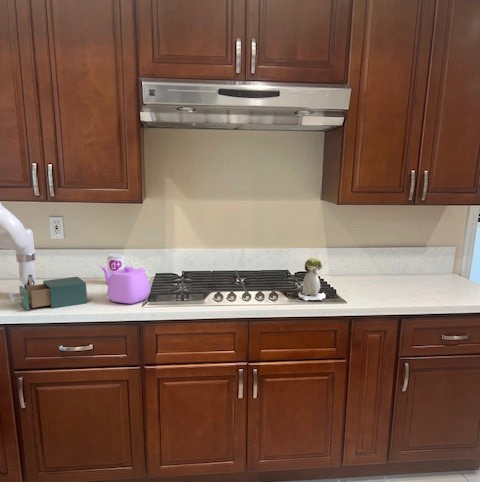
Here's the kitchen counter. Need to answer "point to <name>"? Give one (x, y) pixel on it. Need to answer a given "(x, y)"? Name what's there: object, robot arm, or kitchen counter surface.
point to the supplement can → (115, 262)
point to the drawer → (33, 296)
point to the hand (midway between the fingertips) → (30, 297)
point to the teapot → (127, 285)
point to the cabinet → (66, 291)
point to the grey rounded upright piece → (312, 281)
